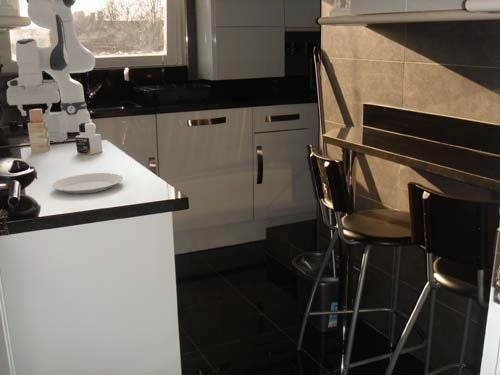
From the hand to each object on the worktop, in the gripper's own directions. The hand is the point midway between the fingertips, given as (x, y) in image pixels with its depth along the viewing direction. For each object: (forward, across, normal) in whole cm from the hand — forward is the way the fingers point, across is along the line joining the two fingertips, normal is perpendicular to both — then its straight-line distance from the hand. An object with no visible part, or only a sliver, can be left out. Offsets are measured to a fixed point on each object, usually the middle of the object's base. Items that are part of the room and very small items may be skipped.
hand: (36, 115), depth 239 cm
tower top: (+7, 0, 0) cm, 7 cm away
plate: (+15, -32, +68) cm, 77 cm away
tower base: (+15, 0, 0) cm, 15 cm away
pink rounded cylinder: (+3, 0, 0) cm, 3 cm away
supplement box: (+15, -1, -23) cm, 27 cm away
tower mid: (+11, 0, 0) cm, 11 cm away
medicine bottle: (+15, -22, +11) cm, 29 cm away
